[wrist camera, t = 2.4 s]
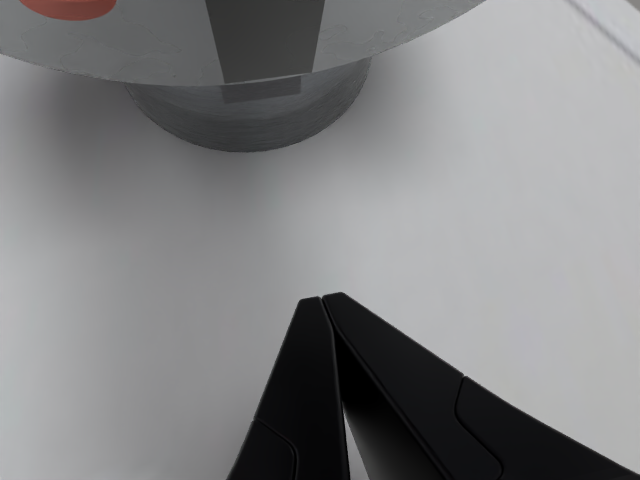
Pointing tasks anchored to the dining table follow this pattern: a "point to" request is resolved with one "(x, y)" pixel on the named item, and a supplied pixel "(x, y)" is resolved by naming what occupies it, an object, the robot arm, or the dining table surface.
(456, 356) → the dining table surface
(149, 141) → the dining table surface
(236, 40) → the pot lid
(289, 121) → the steel pot
